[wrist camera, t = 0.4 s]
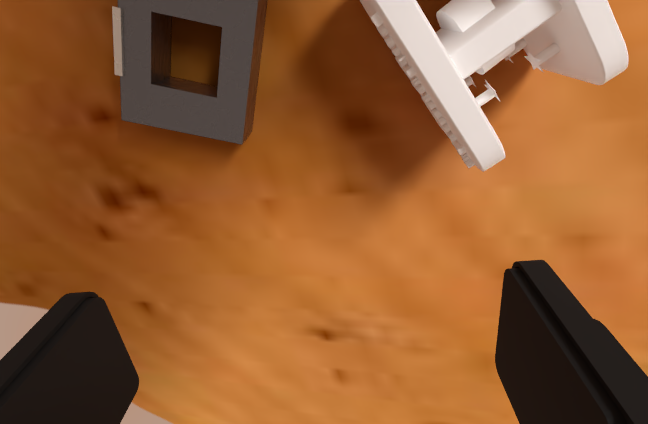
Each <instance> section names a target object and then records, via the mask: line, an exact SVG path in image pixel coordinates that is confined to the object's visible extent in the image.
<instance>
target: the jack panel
mask: <svg viewBox="0 0 648 424" xmlns="http://www.w3.org/2000/svg"><path fill="white" fill-rule="evenodd" d="M266 9H267V0H118V7H115V6H112V17H113V44H114V70H115V75H118V76H120V86H121V117H122V120H124V121H129V122H134V123H139V124H143V125H148V126H153V127H158V128H163V129H168V130H173V131H178V132H183V133H188V134H193V135H198V136H203V137H208V138H213V139H218V140H223V141H227V142H232V143H237V144H243V143H244V142H245V140H246V139H247V137H248V136H249V135H250V133H251V132H252V126H253V118H254V109H255V101H256V92H257V84H258V76H259V67H260V59H261V51H262V42H263V34H264V26H265V17H266ZM172 16H174V17H178V18H183V19H188V20H192V21H197V22H201V23H206V24H210V25H215V26H220V27H222V36H221V50H220V63H219V76H218V87H217V86H213V85H208V84H203V83H198V82H194V81H189V80H184V79H179V78H175V77H170V71H171V27H172Z"/></svg>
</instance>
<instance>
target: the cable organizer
mask: <svg viewBox="0 0 648 424" xmlns="http://www.w3.org/2000/svg"><path fill="white" fill-rule="evenodd" d="M360 2H361V4H362V5H363V7H364V9H365V10H366V12H367V14H368V15H369V17H370V18H371V20H372V22H373V23H374V24H375V26H376V27H377V30H378V32H379V33H380V35H381V36H382V37H383V38H384V41H385V42H386V44H387V45H388V47H389V48H390V49H391V50H392V53H393V54H394V55H395V56H396V58H395V59H396V61H397V62H398V64H399V65H400V67H401V68H402V70H403V71H404V72H405V74H406V75H407V76H408V77H409V79H410V80H411V81H410V82H411V83H412V85H413V87H414V88H415V89H416V90H417V91H418V92H419V94H420V95H421V97H422V98H421V99H422V100H423V102H424V103H425V105H426V106H427V108H428V109H429V111H430V112H431V114H432V116H433V117H434V119H435V120H436V122H437V123H438V125H439V126H440V127H441V129H442V130H443V131H444V132H445V134H446V135H447V136H448V137H449V139H450V140H451V141H452V144H453V146H454V147H455V148H456V150H457V152H458V153H459V155H460V156H461V157H462V160H463V161H464V163H465V164H466V165H467V167H468V168H471V167H472V166H474V165H475V166H476V167H477V168H479V169H480V170H481V171H485V170H487V169H489V168H490V167H492V166H493V165H495V164H497V163H498V162H500V161H502V160H503V159H505V152H504V149H503V146H502V144H501V142H500V140H499V138H498V136H497V134H496V133H495V131H494V129H493V127H492V126H491V124H490V123H489V121H488V119H487V118H486V116H485V114H484V113H483V111H482V109H481V108H480V107H481V106H482V105H484V104H485V103H486V102H488V101H489V100H491V99H492V98H494V97H496V98H497V99H498V100H499V98H498V96H497V94H496V90H494V89H493V88H492V87H491V86H490V84H489V83H488V82H487V81H486V80H485V81H486V84H487V85H485V86H486V88H487V89H488V90H486V91H485V92H483V93H482V94H480V95H479V96H477V97H476V98H474V96H473V94H472V93H471V91H470V89H469V88H468V87H469V86H470V85H472V84H473V85H474V86H475V84H474V82H473V80H472V78H471V77H470V75H471V74H473V73H474V72H476V73H478V74H481V75H483V74H485V73H486V72H487V71H488V70H490V69H491V68H492V67H494V66H495V65H496V64H497V63H499V62H500V61H501V60H503V59H504V58H505V60H506V61H507V60H510V61H511V62H512V60H511V59H510V57H512V56H513V55H514V54H516V53H517V52H519V51H520V50H522V49H524V51H525V52H526V54H527V55H528V56H524V57H525V58H526V59H527V60H528V61H529V62H530V63H531V65H532V67H533V70H534V69H535V68H538V69H539V70H541V71H542V69H544V70H547V71H551V72H554V73H558V74H561V75H565V76H568V77H572V78H575V79H579V80H582V81H585V82H589V83H592V84H596V85H602V84H604V83H606V82H607V81H609V80H610V79H612V78H614V77H615V76H617V75H618V74H620V73H621V72H623V71H624V70H625V69H626V68H627V66H628V51H627V47H626V44H625V41H624V39H623V37H622V34H621V32H620V29H619V27H618V25H617V22H616V20H615V18H614V15H613V13H612V10H611V8H610V6H609V3H608V1H607V0H451V1H450V2H449V3H448V4H446V5H445V6H444V7H442V8H441V9H440V10H439V11H437V13H436V17H437V21H438V23H439V25H440V27H441V29H439V30H438V31H437V32H435V31H434V29H433V28H432V26H431V24H430V23H429V21H428V19H427V18H426V16H425V14H424V13H423V11H422V9H421V8H420V6H419V4H418V3H417V1H416V0H360ZM512 63H513V62H512ZM513 64H514V63H513ZM542 72H543V71H542ZM543 73H544V72H543ZM475 87H476V86H475ZM499 101H500V100H499Z"/></svg>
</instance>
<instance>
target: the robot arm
mask: <svg viewBox="0 0 648 424" xmlns="http://www.w3.org/2000/svg"><path fill="white" fill-rule="evenodd" d="M495 363H496V368H497V372H498V375H499V377H500V379H501V382H502V384H503V386H504V389H505V391H506V393H507V396H508V398H509V400H510V402H511V405H512V407H513V409H514V412H515V414H516V416H517V418H518V421H519V423H520V424H648V377H647V375H646V374H645V373H644V372H643V371H642V369H641V368H640V367H639V366H638V365H637V364H636V362H635V361H634V360H633V359H632V358H631V356H630V355H629V354H628V353H627V352H626V350H625V349H624V348H623V347H622V346H621V345H620V343H619V342H618V341H617V340H616V339H615V337H614V336H613V335H612V334H611V333H610V331H609V330H608V329H607V328H606V327H605V326H604V325H603V324H602V323H601V322H600V321H598V320H595V319H593V318H592V317H591V316H590V315H589V313H588V312H587V311H586V310H585V309H584V307H583V306H582V305H581V304H580V303H579V301H578V300H577V299H576V298H575V296H574V295H573V294H572V293H571V292H570V290H569V289H568V288H567V287H566V285H565V284H564V283H563V282H562V281H561V279H560V278H559V277H558V276H557V275H556V273H555V272H554V271H553V270H552V268H551V267H550V266H549V265H548V264H547V263H546V262H545V261H544V260H532V261H518V262H515V263H514V264H513V266H512V269H506V270H505V273H504V280H503V289H502V299H501V308H500V317H499V326H498V336H497V345H496V354H495ZM138 386H139V377H138V374H137V372H136V370H135V368H134V365H133V363H132V361H131V359H130V356H129V354H128V352H127V350H126V347H125V345H124V343H123V341H122V338H121V336H120V334H119V332H118V330H117V327H116V325H115V323H114V321H113V318H112V316H111V314H110V312H109V309H108V307H107V305H106V303H105V301H104V299H102V298H100V297H98V295H97V294H95V293H94V292H81V293H69V294H65V295H64V296H63V297H62V298H61V299H60V300H59V301H58V302H57V303H56V304H55V305H54V306H53V307H52V308H51V309H50V310H49V311H48V312H47V313H46V314H45V315H44V316H43V317H42V318H41V319H40V320H39V321H38V322H37V323H36V324H35V325H34V326H33V327H32V328H31V329H30V330H29V331H28V333H26V334H25V336H24V337H23V338H22V339H21V340H20V341H19V342H18V343H17V344H16V345H15V346H14V347H13V348H12V349H11V350H10V351H9V352H8V353H7V354H6V355H5V356H4V357H3V358H2V359H1V360H0V424H120V422H121V420H122V419H123V417H124V415H125V413H126V411H127V409H128V407H129V405H130V404H131V402H132V400H133V398H134V396H135V394H136V392H137V390H138Z"/></svg>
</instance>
